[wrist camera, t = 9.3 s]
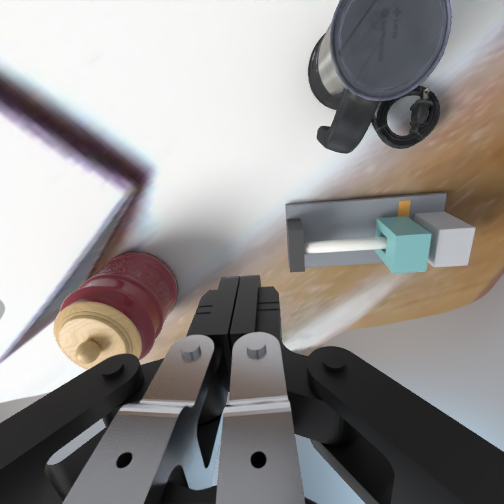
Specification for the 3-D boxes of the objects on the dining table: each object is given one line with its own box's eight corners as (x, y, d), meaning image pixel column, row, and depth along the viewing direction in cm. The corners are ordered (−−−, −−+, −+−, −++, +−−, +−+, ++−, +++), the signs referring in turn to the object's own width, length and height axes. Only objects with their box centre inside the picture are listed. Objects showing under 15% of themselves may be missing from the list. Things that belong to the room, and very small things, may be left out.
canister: (164, 242, 47) (109, 304, 31) (189, 309, 52) (152, 393, 36) (91, 257, 49) (3, 323, 33) (122, 321, 54) (59, 405, 38)
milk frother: (308, 25, 35) (331, -38, 21) (448, 12, 34) (568, -63, 20) (306, 151, 41) (324, 166, 27) (427, 144, 39) (509, 156, 26)
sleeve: (376, 218, 42) (396, 235, 35) (406, 215, 41) (431, 233, 35) (374, 250, 44) (392, 273, 37) (402, 248, 43) (426, 271, 37)
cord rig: (285, 204, 44) (288, 220, 36) (443, 192, 41) (479, 207, 34) (288, 265, 47) (291, 291, 40) (432, 257, 45) (463, 282, 38)
